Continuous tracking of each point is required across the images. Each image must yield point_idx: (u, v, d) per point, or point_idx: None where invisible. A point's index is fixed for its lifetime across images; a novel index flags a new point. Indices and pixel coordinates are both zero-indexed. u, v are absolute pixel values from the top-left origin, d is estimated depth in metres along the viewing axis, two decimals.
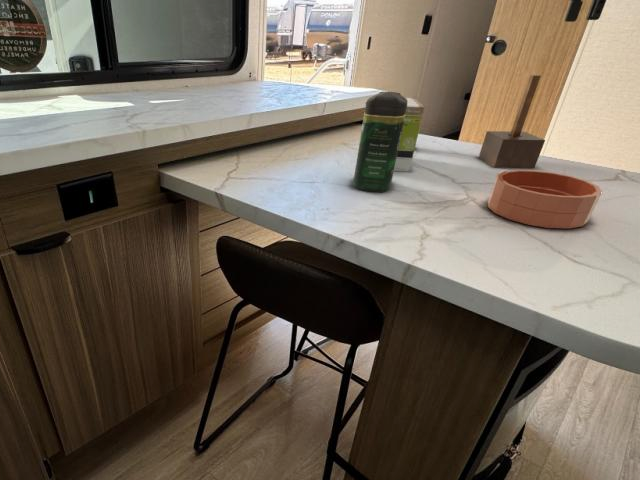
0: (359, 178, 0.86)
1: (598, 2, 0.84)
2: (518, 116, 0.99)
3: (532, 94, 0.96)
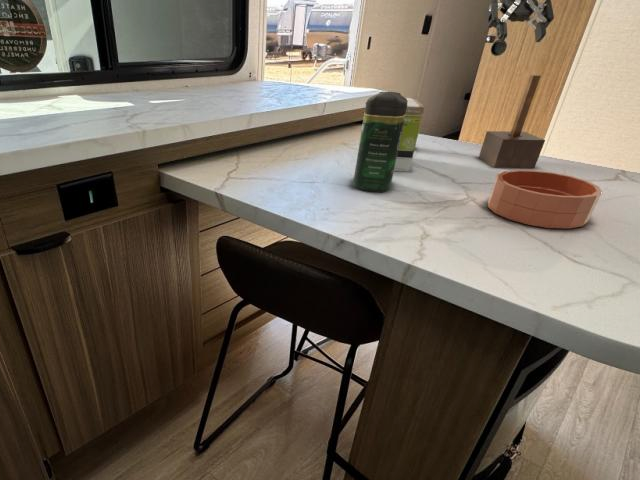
0: (359, 178, 0.86)
1: (497, 31, 1.01)
2: (518, 116, 0.99)
3: (532, 94, 0.96)
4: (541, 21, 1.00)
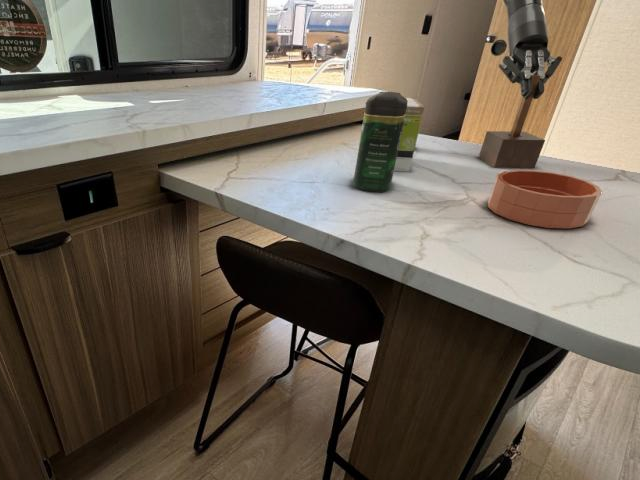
0: (359, 178, 0.86)
1: (521, 87, 0.96)
2: (518, 116, 0.99)
3: (532, 94, 0.96)
4: None
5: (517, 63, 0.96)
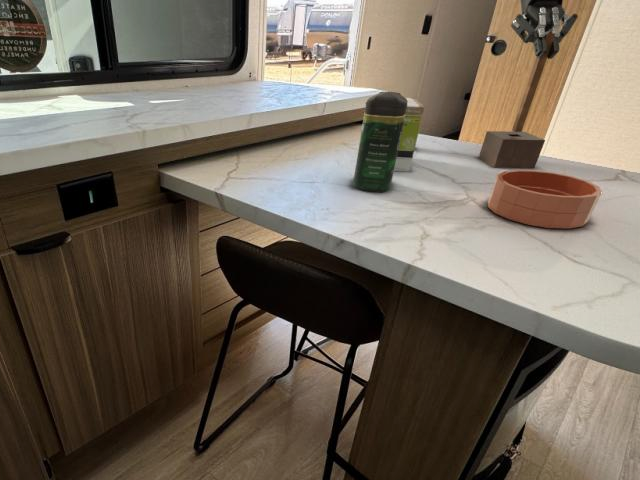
0: (359, 178, 0.86)
1: (534, 46, 0.91)
2: (531, 78, 0.94)
3: (546, 54, 0.91)
4: None
5: (530, 22, 0.92)
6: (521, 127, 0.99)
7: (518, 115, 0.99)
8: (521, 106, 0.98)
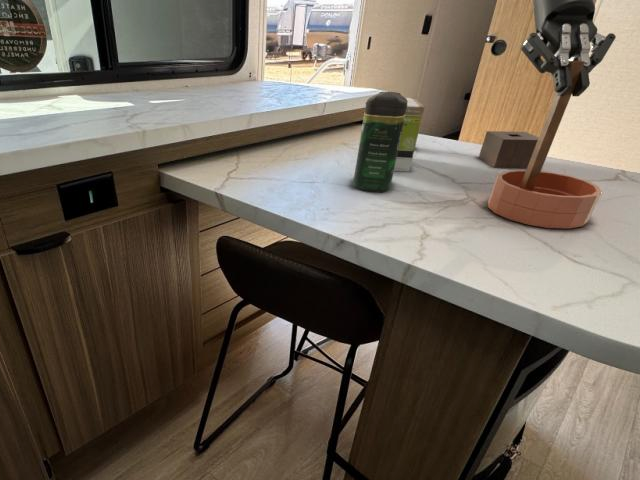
0: (359, 178, 0.86)
1: (554, 78, 0.65)
2: (548, 121, 0.68)
3: (571, 90, 0.65)
4: None
5: (548, 44, 0.66)
6: (533, 185, 0.73)
7: (529, 169, 0.72)
8: (533, 157, 0.71)
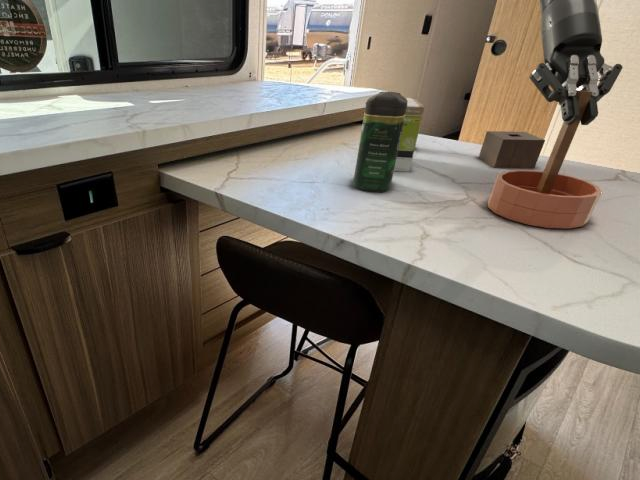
0: (359, 178, 0.86)
1: (561, 107, 0.67)
2: (557, 148, 0.70)
3: (579, 118, 0.67)
4: None
5: (557, 73, 0.68)
6: None
7: None
8: (542, 181, 0.73)
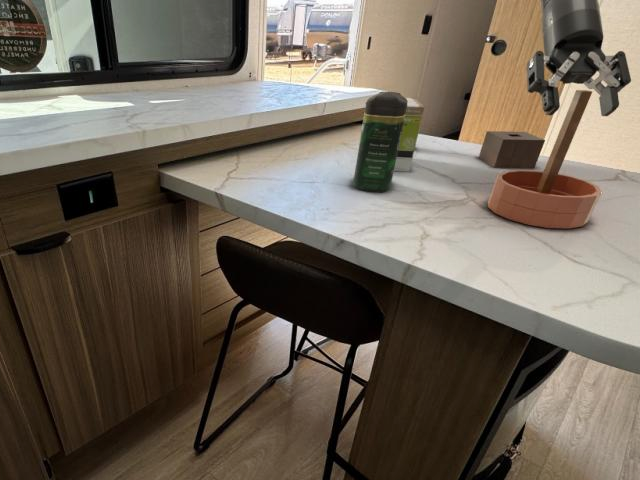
0: (359, 178, 0.86)
1: (542, 98, 0.67)
2: (557, 148, 0.70)
3: (579, 118, 0.67)
4: (611, 85, 0.65)
5: (554, 64, 0.68)
6: None
7: None
8: (542, 181, 0.73)
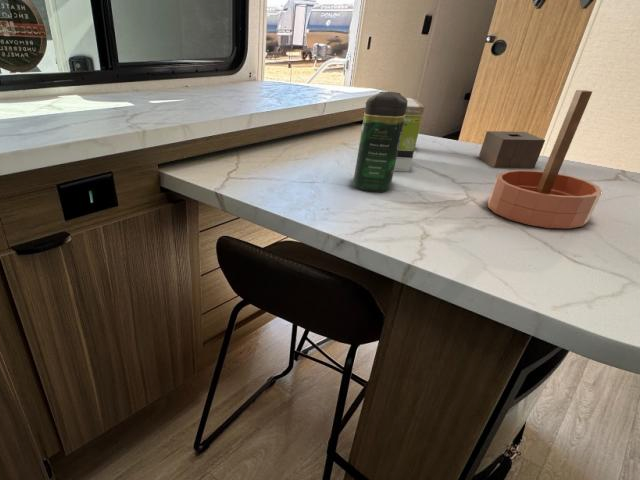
0: (359, 178, 0.86)
1: None
2: (557, 148, 0.70)
3: (579, 118, 0.67)
4: None
5: None
6: None
7: None
8: (542, 181, 0.73)
